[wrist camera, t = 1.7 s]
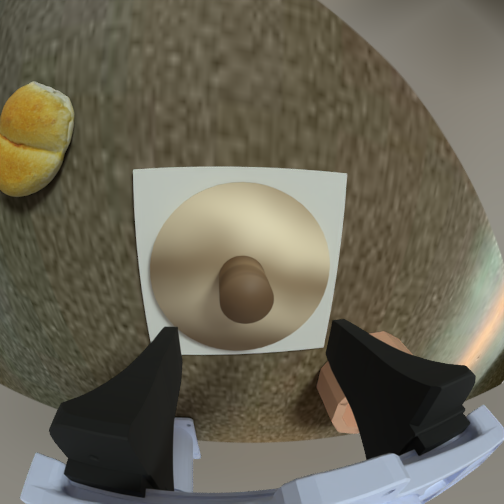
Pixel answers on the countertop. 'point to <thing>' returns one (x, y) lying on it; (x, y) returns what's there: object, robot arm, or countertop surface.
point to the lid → (239, 266)
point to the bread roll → (33, 138)
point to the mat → (200, 178)
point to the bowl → (335, 396)
